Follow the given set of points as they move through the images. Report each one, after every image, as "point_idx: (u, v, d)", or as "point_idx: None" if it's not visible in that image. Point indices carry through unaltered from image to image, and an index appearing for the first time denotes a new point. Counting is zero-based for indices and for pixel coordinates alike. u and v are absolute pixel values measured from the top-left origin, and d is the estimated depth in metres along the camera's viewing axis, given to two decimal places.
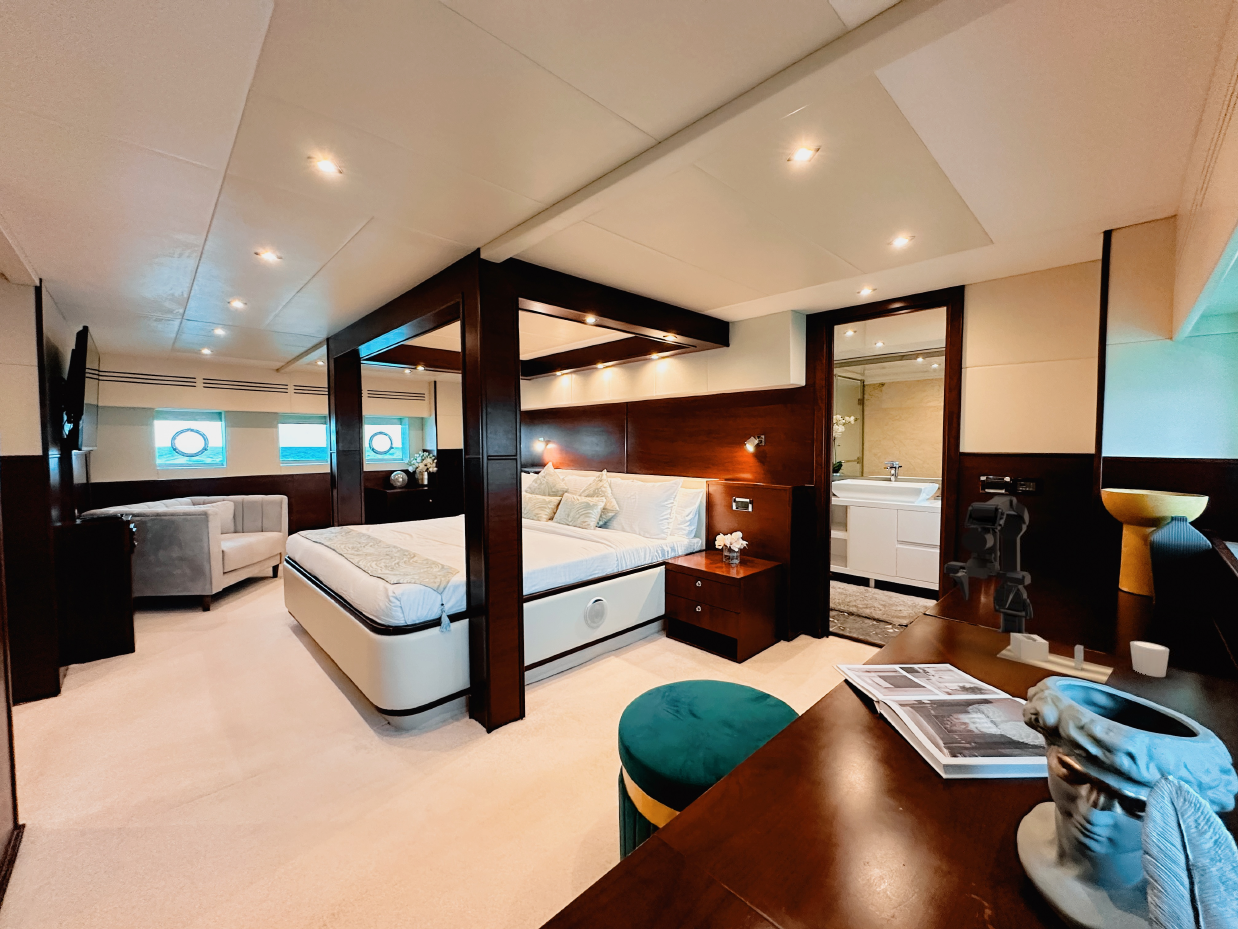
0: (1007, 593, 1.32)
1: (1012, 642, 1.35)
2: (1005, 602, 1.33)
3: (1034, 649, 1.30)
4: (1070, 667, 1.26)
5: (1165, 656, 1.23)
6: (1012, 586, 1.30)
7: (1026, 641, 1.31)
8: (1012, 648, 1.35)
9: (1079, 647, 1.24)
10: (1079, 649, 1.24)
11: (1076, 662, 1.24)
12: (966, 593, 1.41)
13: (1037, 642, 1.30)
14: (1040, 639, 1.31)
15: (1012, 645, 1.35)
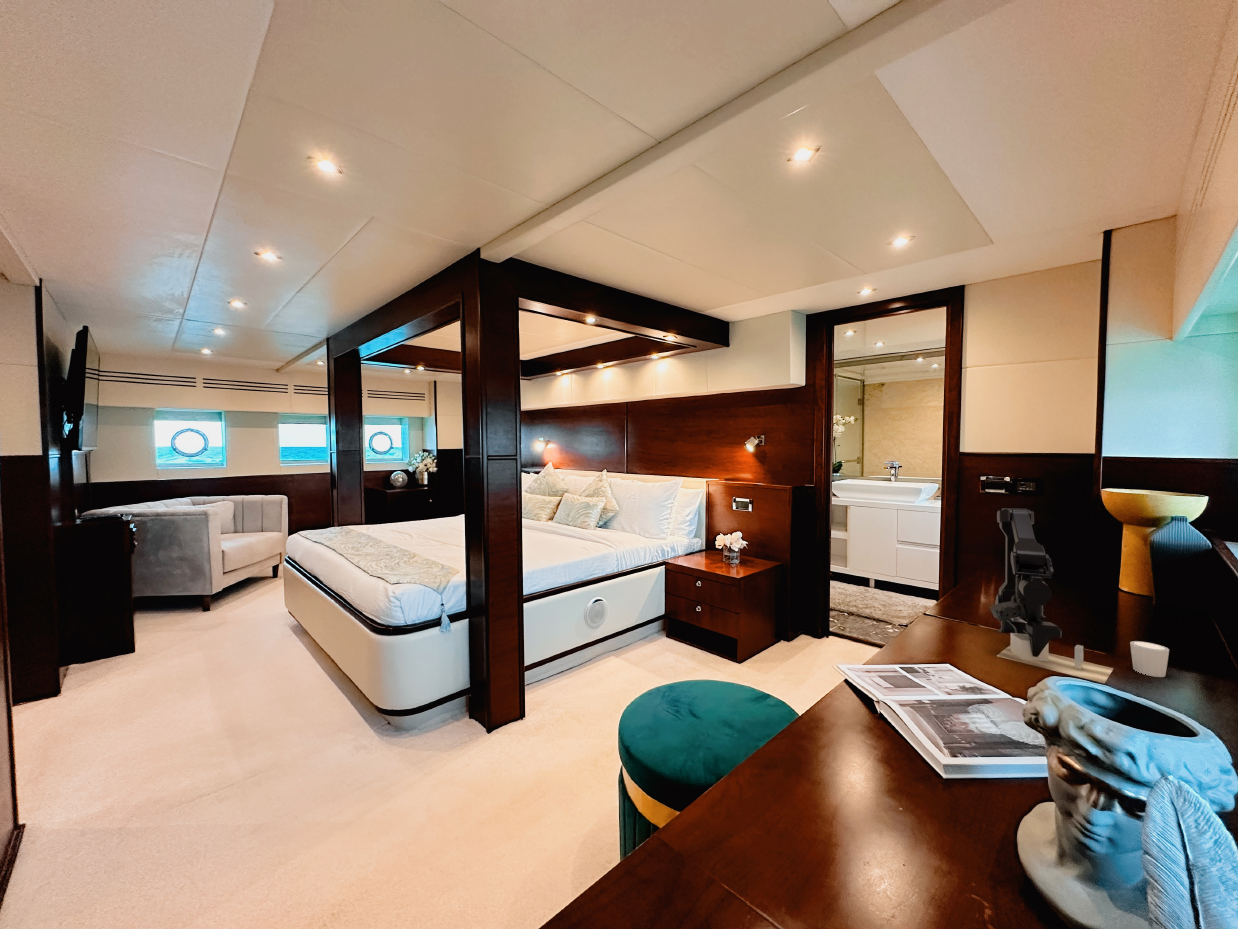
0: (1030, 641, 1.29)
1: (1012, 642, 1.35)
2: (1031, 651, 1.30)
3: None
4: (1070, 667, 1.26)
5: (1165, 656, 1.23)
6: (1027, 633, 1.28)
7: (1026, 641, 1.31)
8: (1012, 648, 1.35)
9: (1079, 647, 1.24)
10: (1079, 649, 1.24)
11: (1076, 662, 1.24)
12: None
13: None
14: None
15: (1012, 645, 1.35)
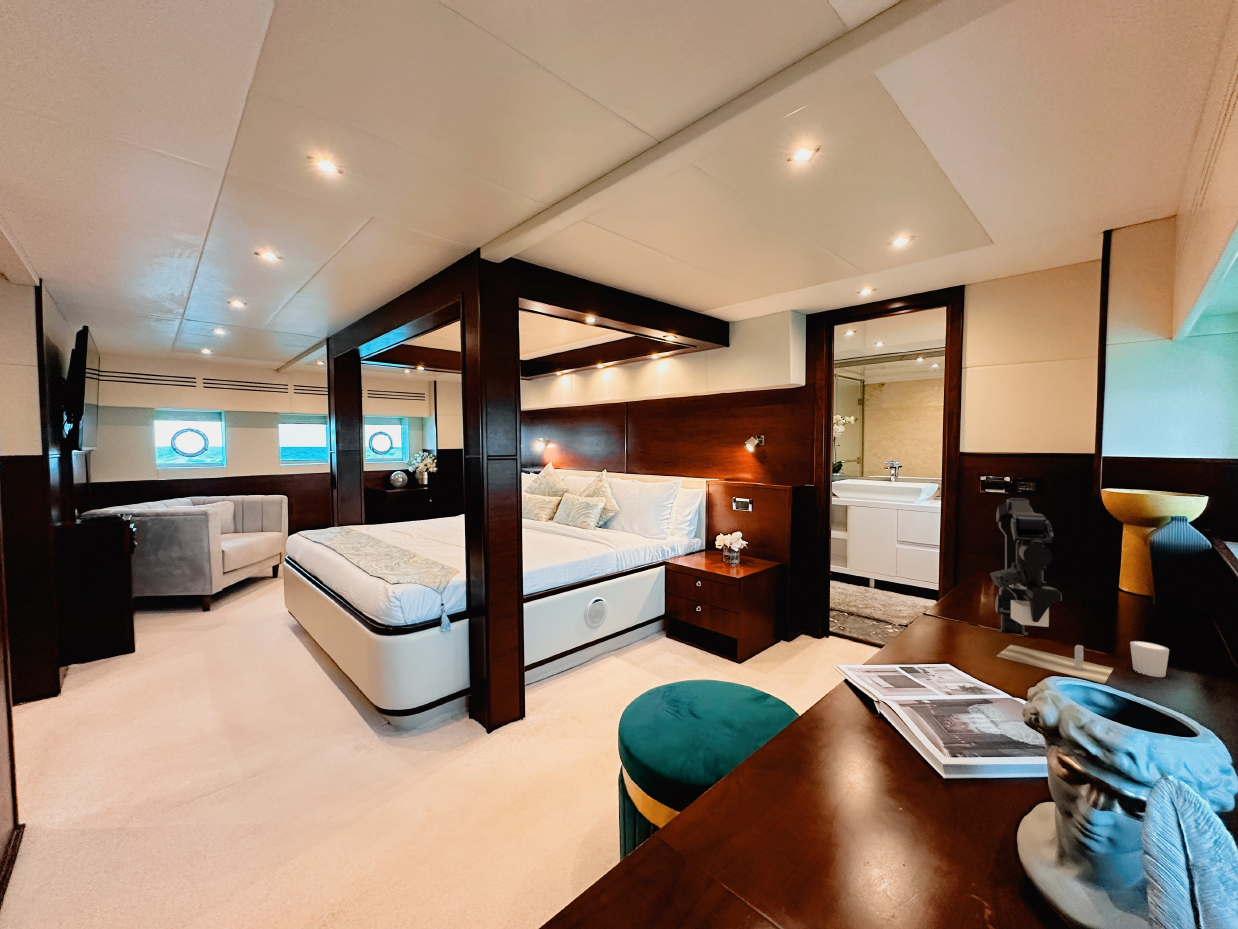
0: (1031, 606, 1.29)
1: (1012, 609, 1.35)
2: (1032, 616, 1.30)
3: None
4: (1070, 667, 1.26)
5: (1165, 656, 1.23)
6: (1027, 598, 1.28)
7: (1026, 607, 1.30)
8: (1012, 615, 1.35)
9: (1079, 647, 1.24)
10: (1079, 649, 1.24)
11: (1076, 662, 1.24)
12: None
13: None
14: None
15: (1012, 612, 1.35)
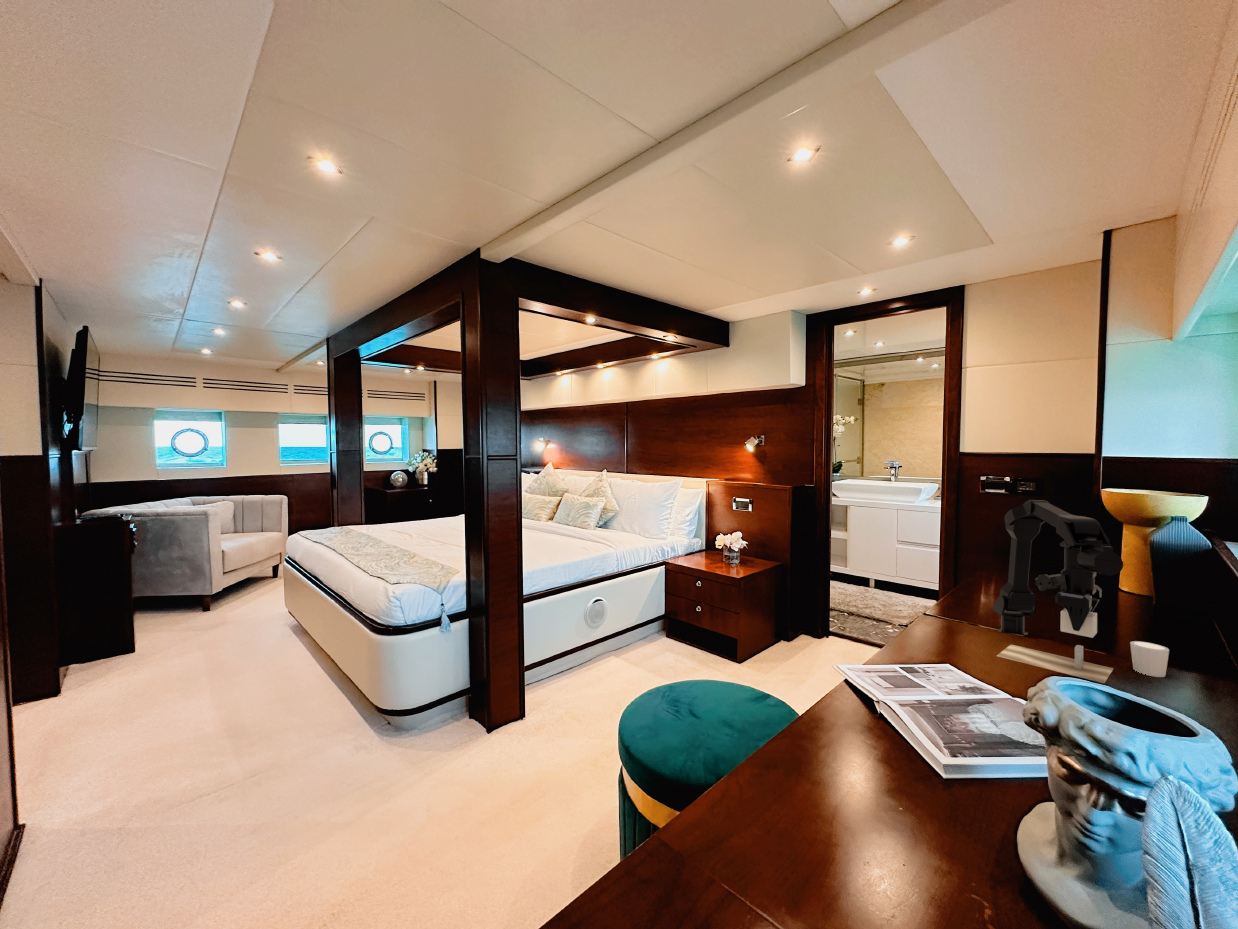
0: None
1: None
2: None
3: None
4: (1070, 667, 1.26)
5: (1165, 656, 1.23)
6: None
7: (1066, 613, 1.25)
8: None
9: (1079, 647, 1.24)
10: (1079, 649, 1.24)
11: (1076, 662, 1.24)
12: None
13: None
14: (1090, 615, 1.23)
15: None
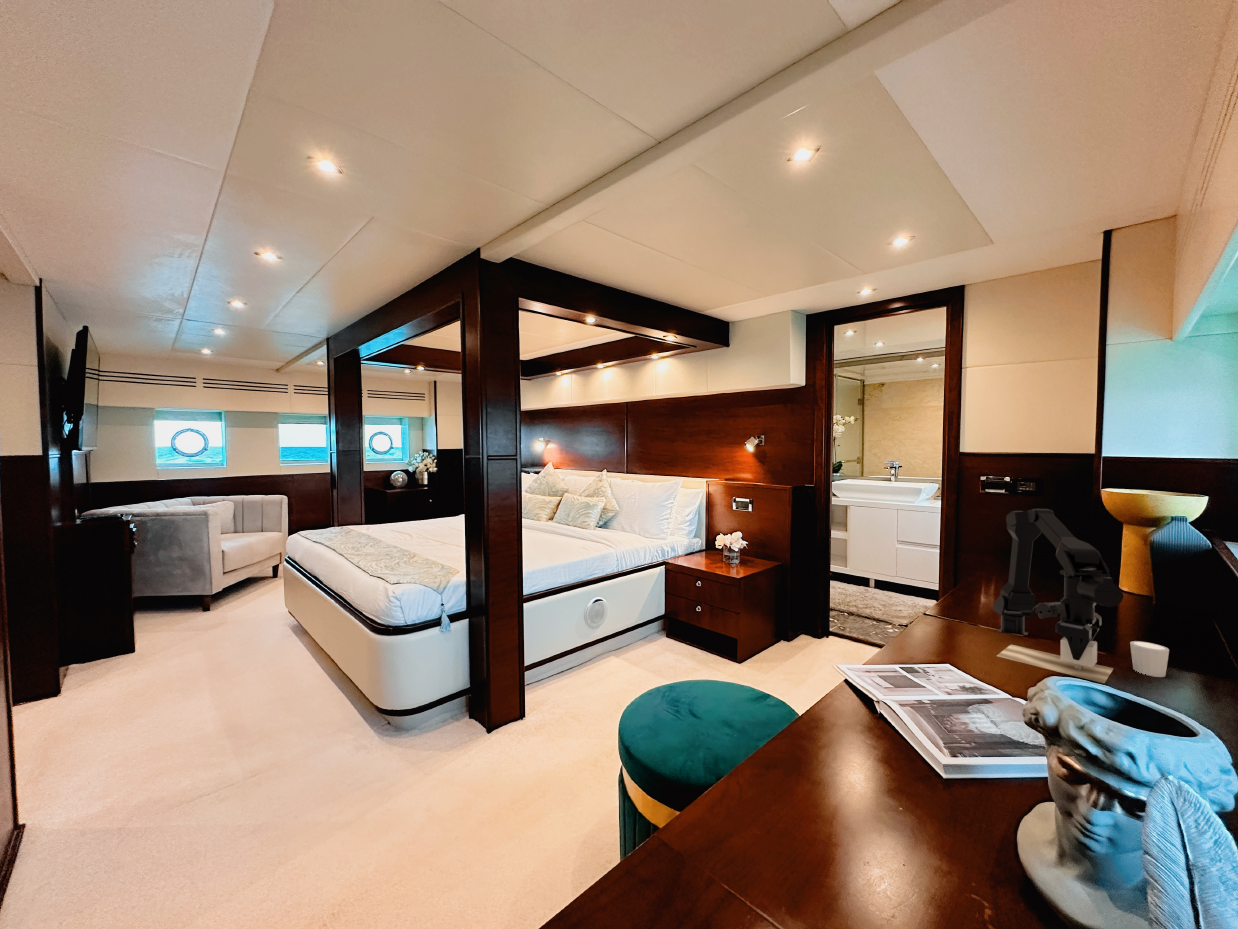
0: None
1: None
2: None
3: None
4: (1070, 667, 1.26)
5: (1165, 656, 1.23)
6: None
7: (1066, 642, 1.25)
8: None
9: None
10: None
11: None
12: None
13: None
14: (1090, 644, 1.23)
15: None
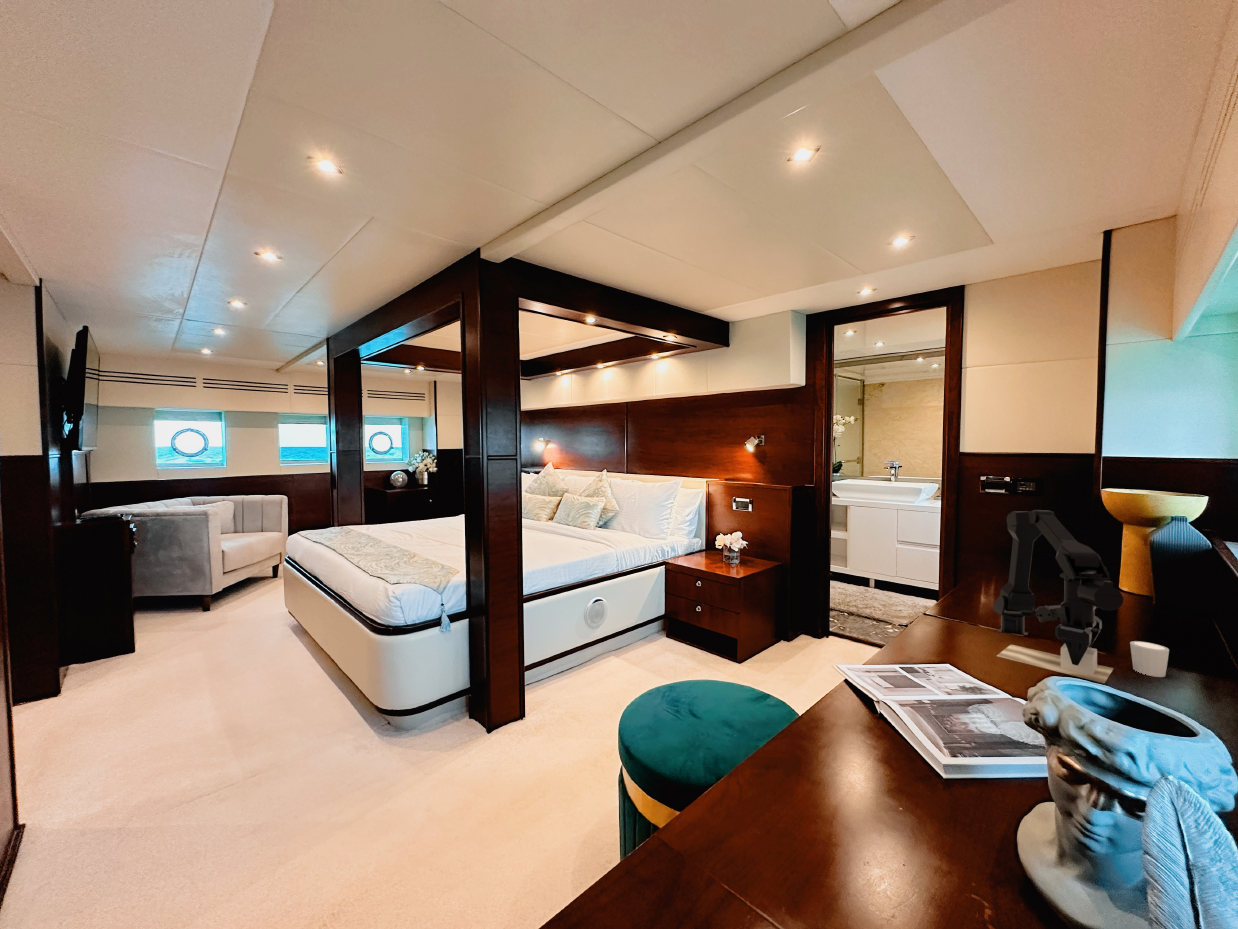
0: None
1: None
2: None
3: None
4: None
5: (1165, 656, 1.23)
6: None
7: (1066, 649, 1.25)
8: None
9: None
10: None
11: None
12: None
13: None
14: (1090, 651, 1.23)
15: None
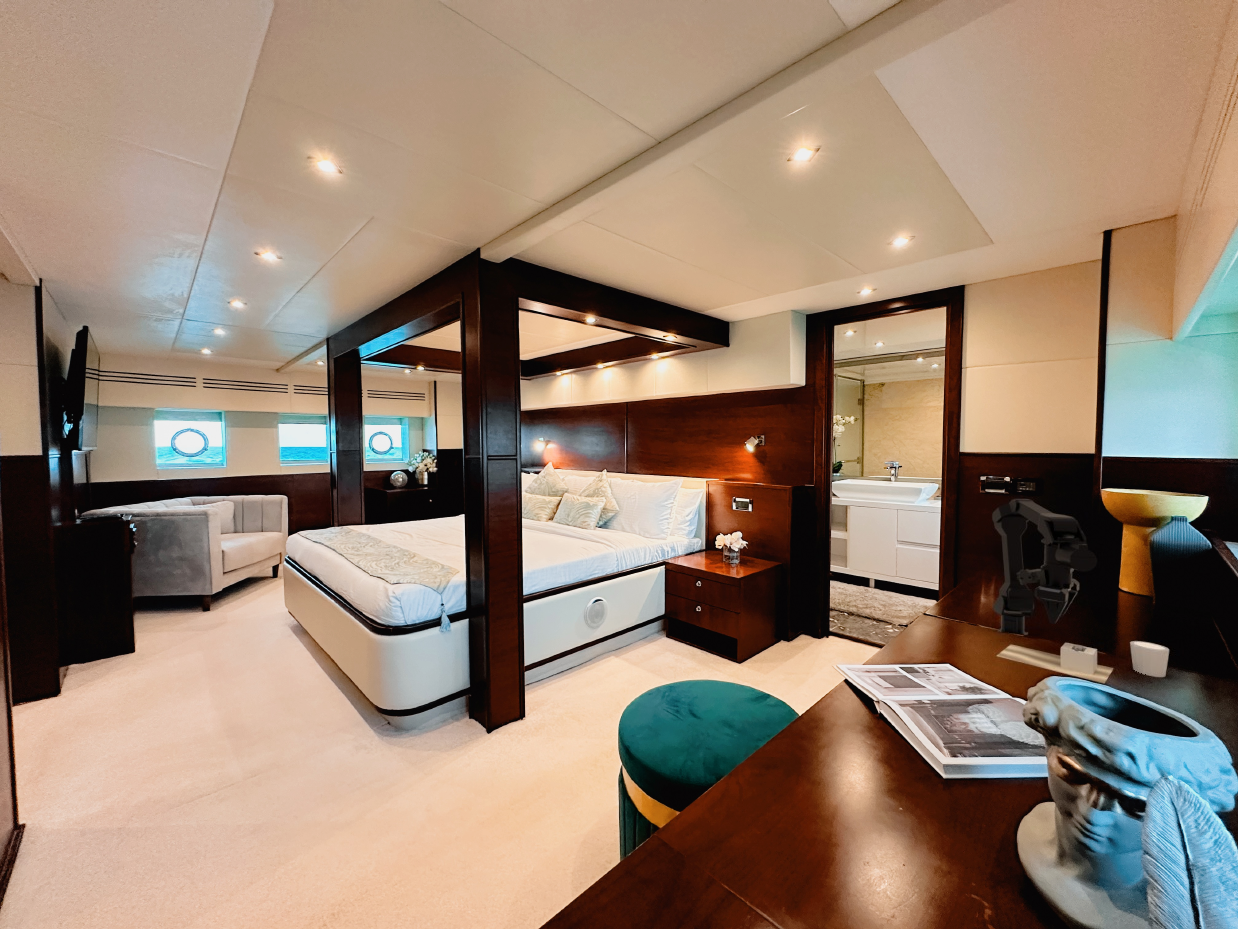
0: None
1: None
2: None
3: (1076, 659, 1.23)
4: None
5: (1165, 656, 1.23)
6: None
7: (1066, 649, 1.25)
8: None
9: (1079, 647, 1.24)
10: (1079, 649, 1.24)
11: None
12: None
13: (1079, 652, 1.23)
14: (1090, 651, 1.23)
15: None
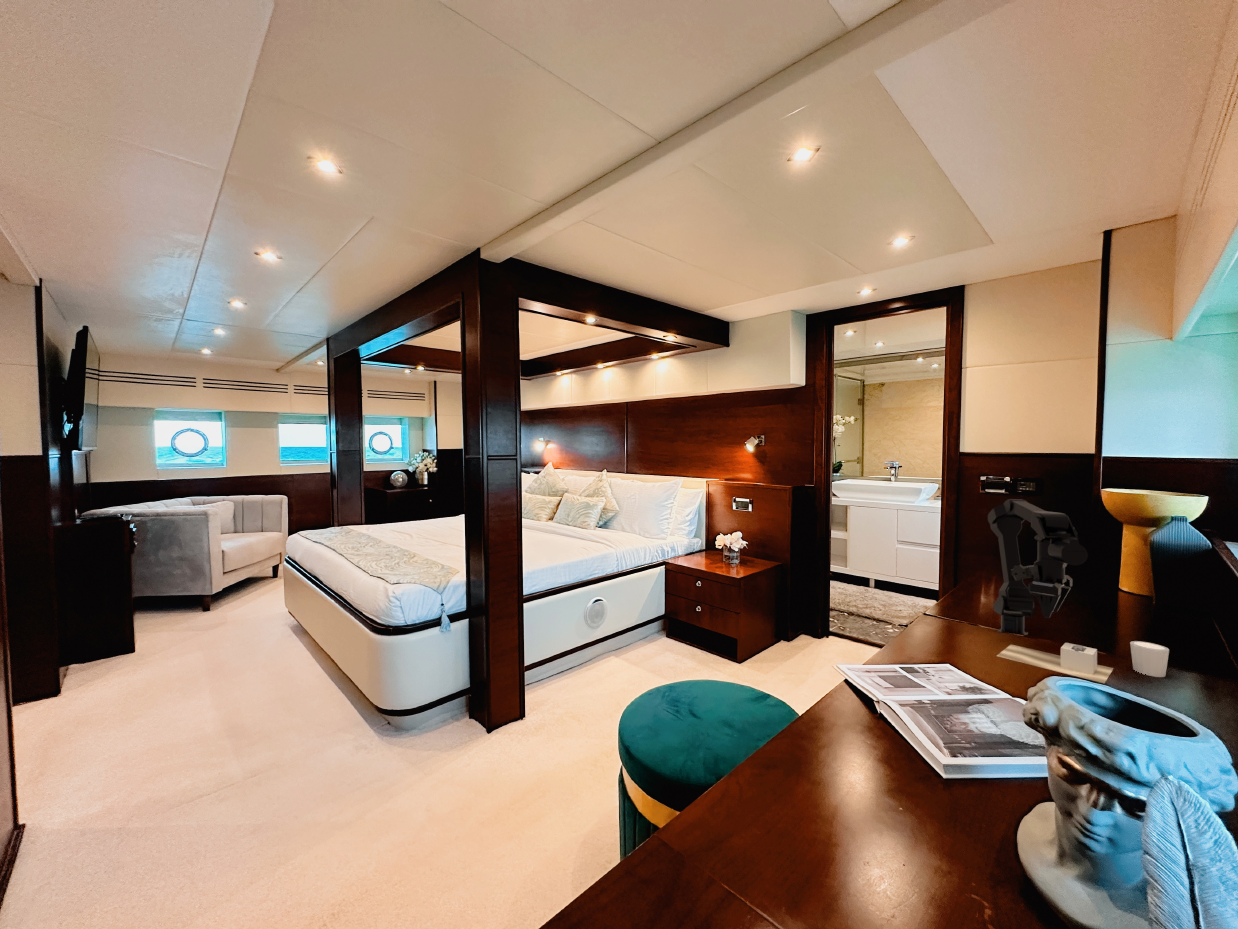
0: None
1: None
2: None
3: (1076, 659, 1.23)
4: None
5: (1165, 656, 1.23)
6: None
7: (1066, 649, 1.25)
8: None
9: (1079, 647, 1.24)
10: (1079, 649, 1.24)
11: None
12: None
13: (1079, 652, 1.23)
14: (1090, 651, 1.23)
15: None
